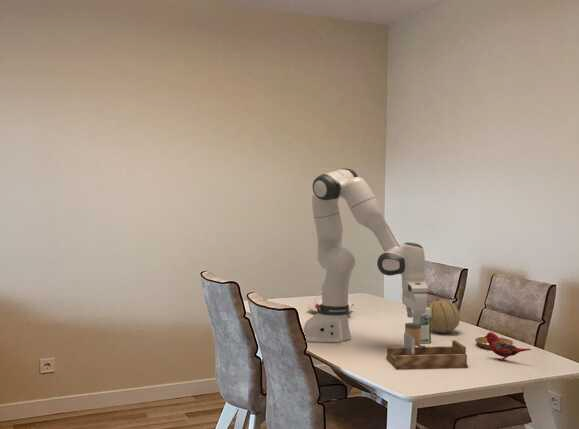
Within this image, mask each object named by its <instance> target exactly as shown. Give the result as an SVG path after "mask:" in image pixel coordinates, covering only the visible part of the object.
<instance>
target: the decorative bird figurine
mask: <svg viewBox="0 0 579 429" xmlns="http://www.w3.org/2000/svg"><path fill="white" fill-rule="evenodd" d="M484 337H486V338H487V341H488V343H489V346H490V348H491V349H490V350H491V351H492V352H493V353H494V354H495V355H497V356H500V357H502V358H500V357H494V359H495V360H498V361H504V362H506V361H507V362H508V361H509V360H508V359H507V358H508V357H512V356H516V355H517V354H519V353H521V352H526V351H531V350H532V348H519V347H517V346H515V345H513V344H510V343H508V342H505V341H503V340H501V339H500V338H501V337H499V336H498V335H497V334H495V333H494V332H492V331H489V332H487V333H486V335H485V336H484Z"/></svg>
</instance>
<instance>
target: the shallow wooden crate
mask: <svg viewBox="0 0 579 429" xmlns="http://www.w3.org/2000/svg"><path fill="white" fill-rule="evenodd" d="M451 343H452V344H451V345H450V346H449V345H448V346H447V345H445V346H441V345H440V346H425V350H415V355H404V346H400V347H399V346H398V347H396V346H395V347H394V346H393V347H392V346H391V347H386V356H385V359H386V361H388V363H390V365H392V367H394V368H395V370H396V371H397V370H433V369H435V370H436V369H438V370H439V369H442V368H443V369H468V367H469V365H468V354H467V353H466V352H467V347H466V346H465V345H463V344H462V343H460V342H459V341H458V340H452V342H451Z"/></svg>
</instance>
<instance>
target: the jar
mask: <svg viewBox="0 0 579 429" xmlns="http://www.w3.org/2000/svg"><path fill="white" fill-rule="evenodd" d="M404 333H408V334H409V335H410V336H412V337H413V338H414V339H415V346H421V344H422V343H421V324H418V323H413V322H407V323H405V324H404Z"/></svg>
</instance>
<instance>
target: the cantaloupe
mask: <svg viewBox="0 0 579 429" xmlns="http://www.w3.org/2000/svg"><path fill="white" fill-rule="evenodd" d="M428 307H429V308H431V330H432V331H434V332H436V333H441V334H447V333H450V332H452V331H454V330H455V329H457V328H458V326H459V324H460V321H461V316H460V311H459V309H458V308H457V306H456V305H455V304H454V303H453V302H452V301H450V300H447V299H440V298H436V299H435V301H433V302H432V303H431V304H430V305H429V306H428Z"/></svg>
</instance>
